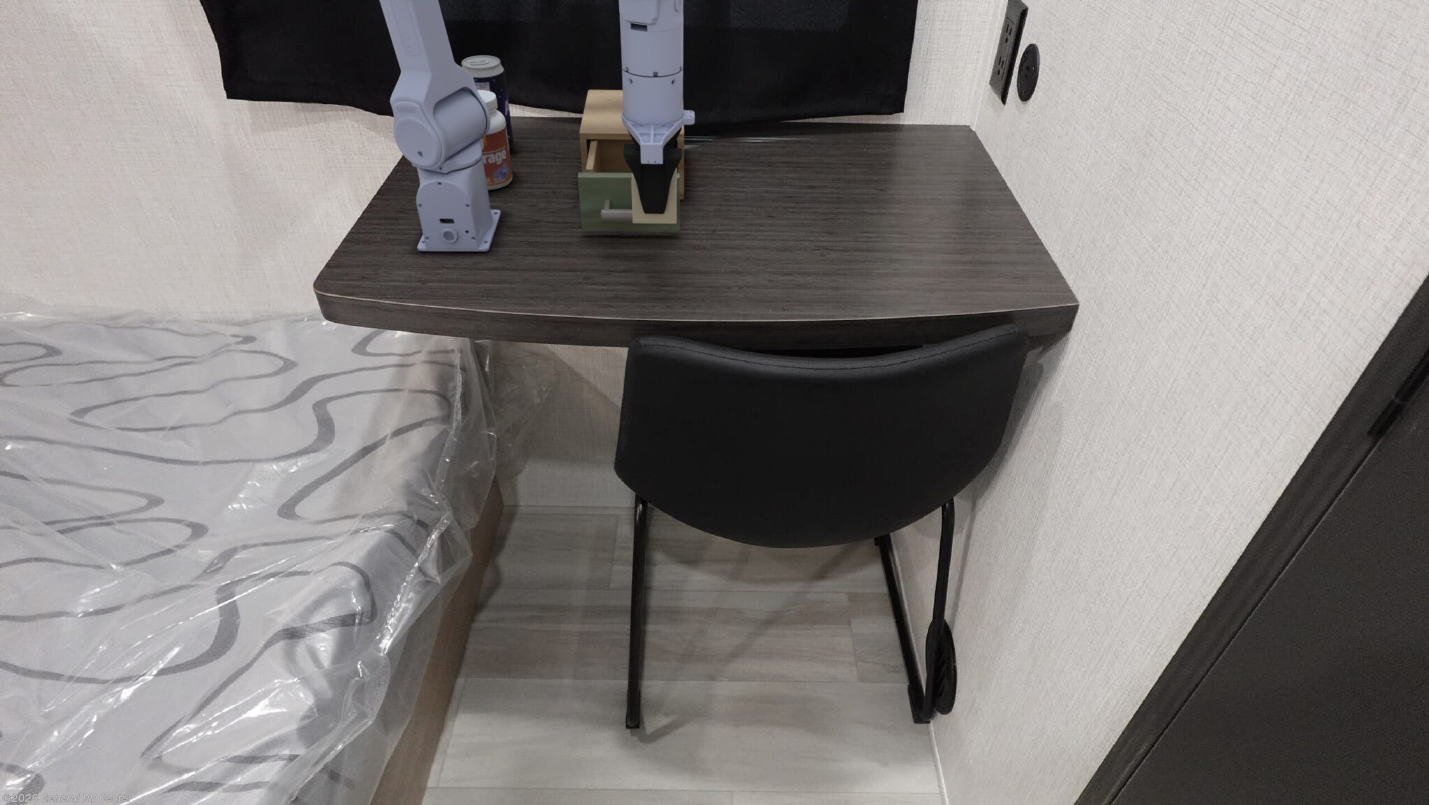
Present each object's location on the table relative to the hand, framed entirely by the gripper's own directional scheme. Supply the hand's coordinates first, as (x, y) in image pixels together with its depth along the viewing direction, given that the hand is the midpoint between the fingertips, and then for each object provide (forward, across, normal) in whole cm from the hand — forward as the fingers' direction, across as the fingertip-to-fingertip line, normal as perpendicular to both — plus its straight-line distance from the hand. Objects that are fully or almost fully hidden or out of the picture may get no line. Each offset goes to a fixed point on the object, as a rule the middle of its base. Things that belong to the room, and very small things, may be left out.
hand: (654, 201), depth 87 cm
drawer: (+8, +13, +3) cm, 15 cm away
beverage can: (+9, +33, +23) cm, 41 cm away
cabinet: (+9, +25, +3) cm, 27 cm away
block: (+1, 0, 0) cm, 1 cm away
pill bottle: (+9, +23, +22) cm, 33 cm away
